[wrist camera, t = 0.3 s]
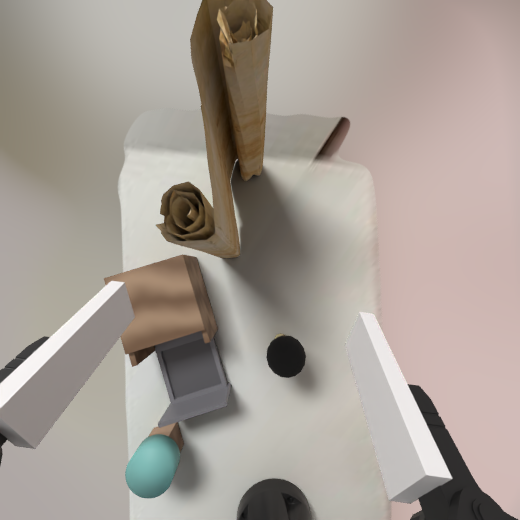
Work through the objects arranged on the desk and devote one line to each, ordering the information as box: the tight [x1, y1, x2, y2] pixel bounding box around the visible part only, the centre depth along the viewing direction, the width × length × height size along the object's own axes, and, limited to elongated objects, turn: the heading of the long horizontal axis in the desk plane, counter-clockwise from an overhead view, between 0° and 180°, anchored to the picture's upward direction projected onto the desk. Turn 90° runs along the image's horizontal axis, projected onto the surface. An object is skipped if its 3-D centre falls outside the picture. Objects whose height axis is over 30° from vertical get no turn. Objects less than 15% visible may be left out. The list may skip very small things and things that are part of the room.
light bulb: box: [267, 334, 306, 378], centre depth 41 cm, size 7×7×12 cm
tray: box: [154, 331, 231, 428], centre depth 43 cm, size 18×13×6 cm
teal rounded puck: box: [125, 434, 180, 498], centre depth 39 cm, size 8×8×4 cm
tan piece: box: [156, 0, 273, 258], centre depth 33 cm, size 23×6×30 cm, turn 166°
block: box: [148, 422, 184, 452], centre depth 44 cm, size 5×5×5 cm
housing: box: [104, 255, 218, 367], centre depth 43 cm, size 16×14×9 cm
